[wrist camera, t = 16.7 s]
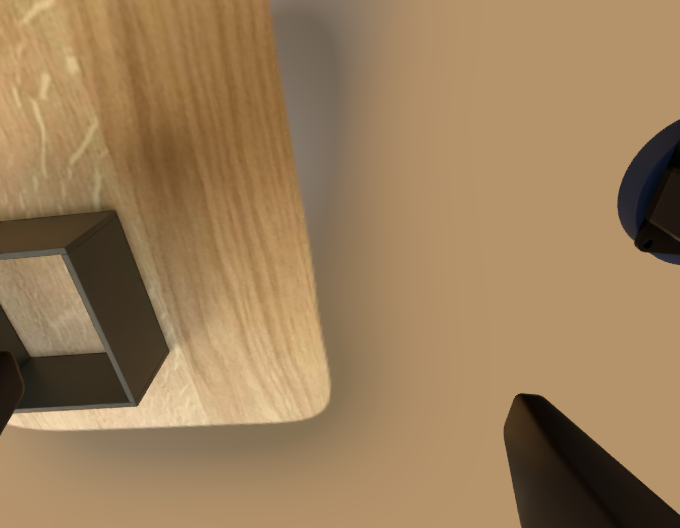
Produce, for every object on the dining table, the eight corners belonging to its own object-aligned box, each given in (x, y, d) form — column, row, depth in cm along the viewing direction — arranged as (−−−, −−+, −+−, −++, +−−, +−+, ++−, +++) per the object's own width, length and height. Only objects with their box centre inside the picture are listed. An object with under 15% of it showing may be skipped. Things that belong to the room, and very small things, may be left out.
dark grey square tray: (115, 210, 20) (64, 247, 17) (169, 352, 24) (137, 406, 21) (-52, 226, 21) (-134, 265, 18) (28, 362, 25) (-26, 415, 22)
